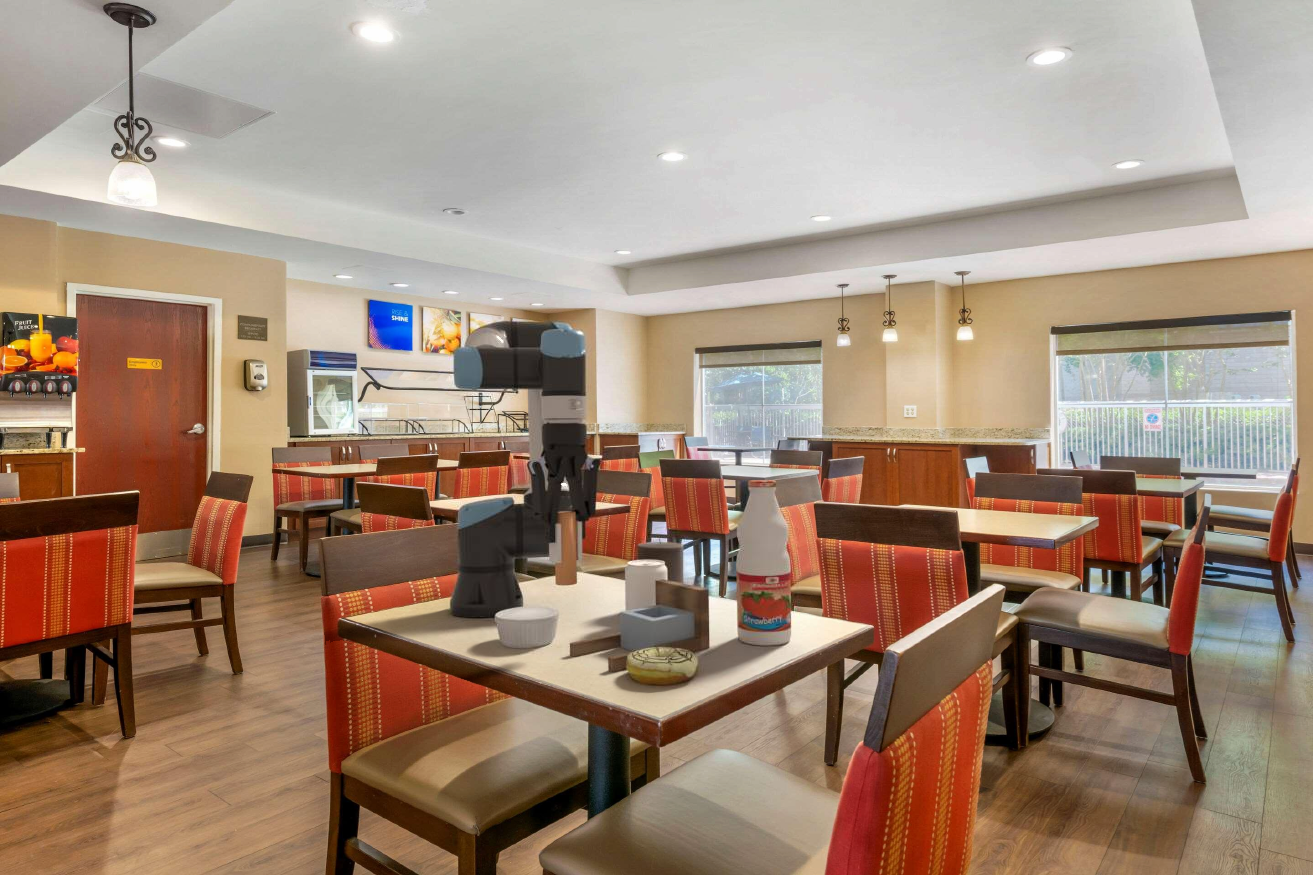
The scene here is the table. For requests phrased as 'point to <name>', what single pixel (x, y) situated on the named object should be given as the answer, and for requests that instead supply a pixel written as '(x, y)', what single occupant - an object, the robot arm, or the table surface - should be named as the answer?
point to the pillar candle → (664, 557)
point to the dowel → (567, 550)
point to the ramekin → (527, 626)
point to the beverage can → (642, 582)
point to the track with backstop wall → (666, 595)
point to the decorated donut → (662, 665)
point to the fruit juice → (763, 569)
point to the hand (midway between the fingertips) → (565, 560)
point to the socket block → (655, 626)
